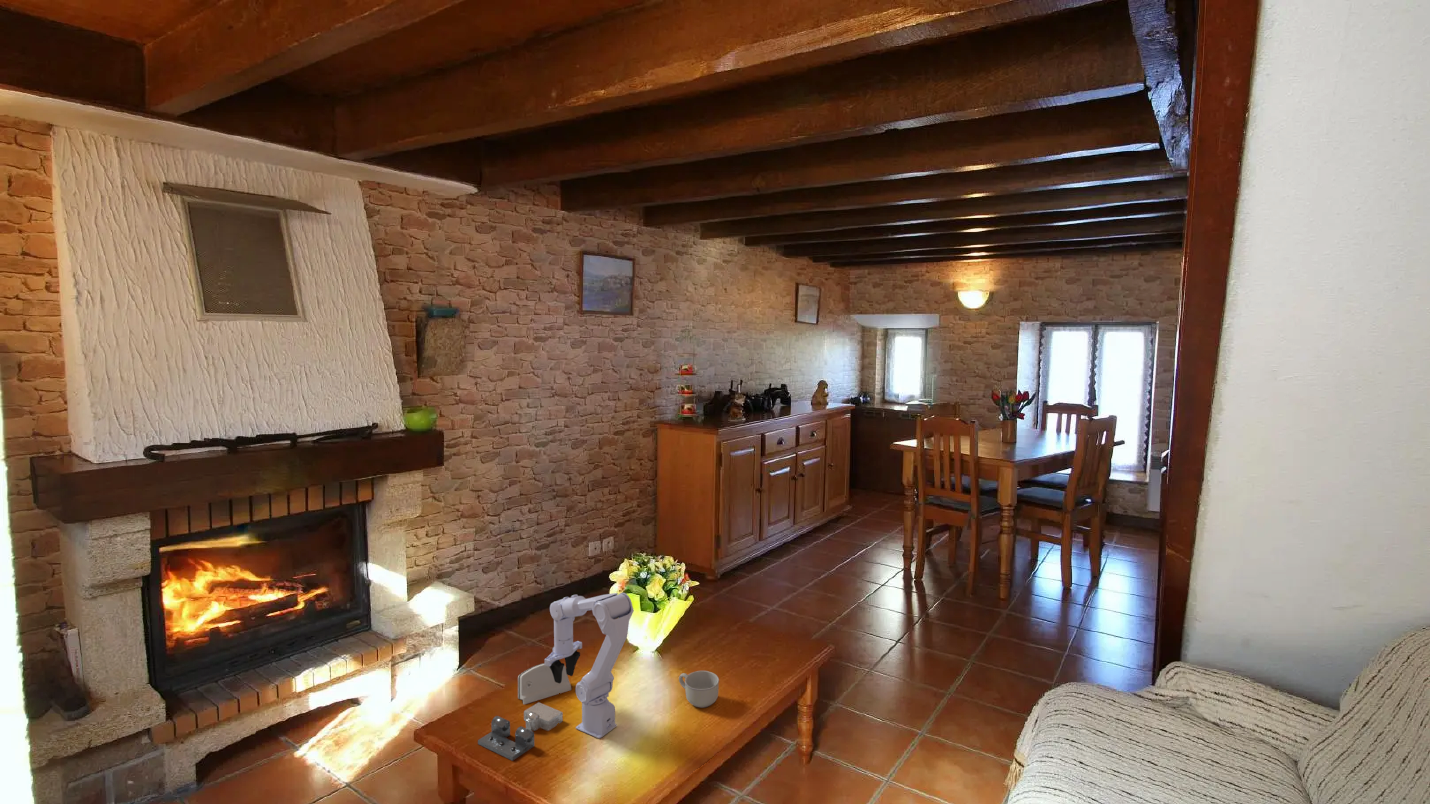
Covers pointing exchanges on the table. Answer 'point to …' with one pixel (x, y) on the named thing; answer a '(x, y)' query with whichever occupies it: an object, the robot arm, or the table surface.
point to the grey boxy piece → (542, 717)
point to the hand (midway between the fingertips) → (563, 678)
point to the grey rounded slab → (540, 683)
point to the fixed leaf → (504, 746)
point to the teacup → (700, 687)
